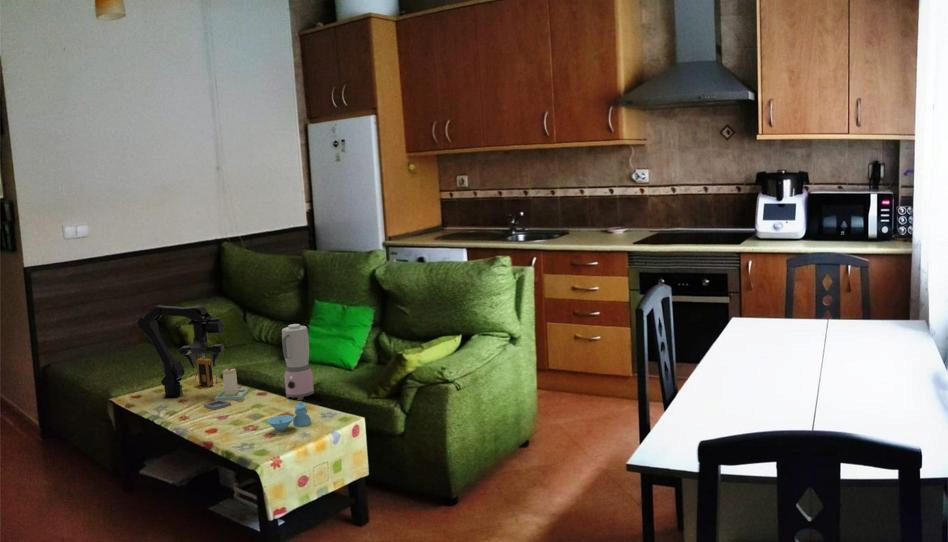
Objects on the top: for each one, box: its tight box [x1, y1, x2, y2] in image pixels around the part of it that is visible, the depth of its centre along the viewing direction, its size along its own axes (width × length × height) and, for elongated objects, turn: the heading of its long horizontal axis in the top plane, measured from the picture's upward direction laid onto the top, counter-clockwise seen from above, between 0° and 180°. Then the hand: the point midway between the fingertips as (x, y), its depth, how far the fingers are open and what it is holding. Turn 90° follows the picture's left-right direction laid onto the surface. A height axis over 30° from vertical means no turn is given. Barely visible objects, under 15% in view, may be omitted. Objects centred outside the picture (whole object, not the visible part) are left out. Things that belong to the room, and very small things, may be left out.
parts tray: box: [214, 388, 249, 401], centre depth 366 cm, size 12×12×2 cm
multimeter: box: [194, 351, 218, 387], centre depth 390 cm, size 15×10×20 cm
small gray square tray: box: [203, 400, 232, 411], centre depth 352 cm, size 8×9×2 cm
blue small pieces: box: [266, 400, 312, 432], centre depth 318 cm, size 18×10×9 cm, turn 135°
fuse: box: [221, 368, 239, 397], centre depth 365 cm, size 4×4×12 cm
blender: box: [281, 323, 315, 401], centre depth 358 cm, size 16×12×32 cm
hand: (203, 367), depth 369 cm, fingers open, 9 cm apart
